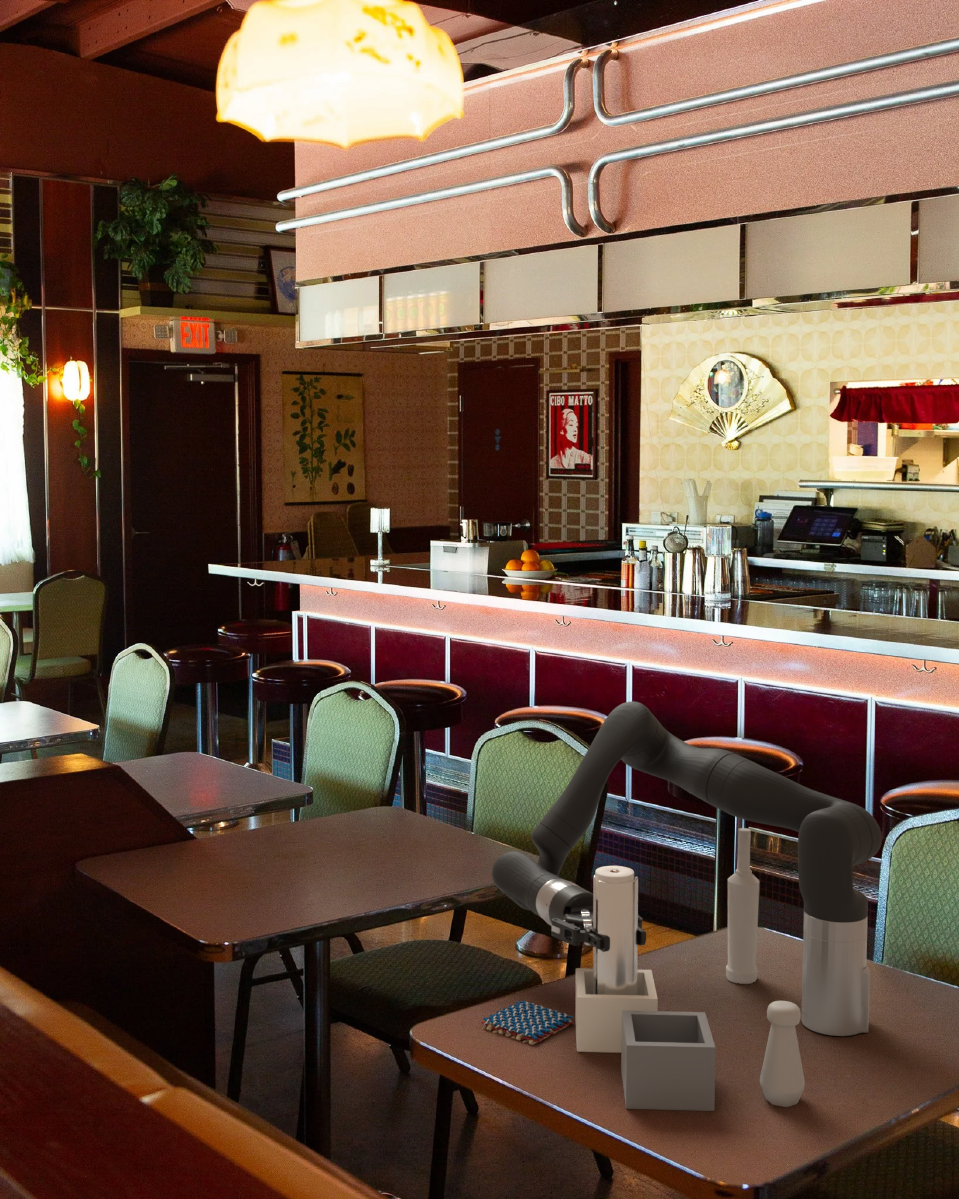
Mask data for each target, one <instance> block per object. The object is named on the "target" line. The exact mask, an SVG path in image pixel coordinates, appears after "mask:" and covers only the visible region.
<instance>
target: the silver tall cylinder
mask: <svg viewBox="0 0 959 1199" xmlns="http://www.w3.org/2000/svg"><path fill="white" fill-rule="evenodd" d="M592 878H593V880H592V881H593V890H592V891H593V892H592V894H593V930H598V934H601V935H604V936H608V938H609V950H608V951H606V952H603V951H601V950H599V949H597V948H595V947H594V946H592V951H593V952H592V958H593V959H592V969H593V994H595V995H637V970H638V952H639V951H638V946H639V945H638V915H639V913H638V912H639V911H638V910H639V909H638V908H639V877H638V876H635V871H634V870H633V869H632V868H630V867H626V866H622V865H621V866H620V865H606V866H604V865H603V866H600V867H598V868H596V869H595V874H594V875H593V876H592Z"/></svg>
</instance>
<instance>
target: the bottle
mask: <svg viewBox="0 0 959 1199" xmlns="http://www.w3.org/2000/svg"><path fill="white" fill-rule="evenodd" d="M751 832H752V831H751V829H750V828H746V827H741V828H738V829H737V841H738V843H737V868H736V869H735V872H734V873H733V874H732V875H730V876H729V877H728V878H727V965H726V966H725V975H726V979H727V980H728V981H729V982H732V983H735V984H738V983H739V984H740V985H749V984H753V982H754V983H755V982H756V981H757V979H758V967H757V949H758V948H757V946H758V945H757V944H758V924H759V923H758V922H759V904H760V903H759V901H760V900H759V897H760V879H758V878H757V877H756V876H755V875H754V874H753V873H752V872H753V871H752V870H751V842H752V841H751V837H752V835H751Z"/></svg>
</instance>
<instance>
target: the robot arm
mask: <svg viewBox="0 0 959 1199" xmlns="http://www.w3.org/2000/svg"><path fill="white" fill-rule="evenodd" d="M620 761H622V762H623V763H624V764H626V766H628V767H630V768H633V769H634V770H637V771H640V772H642V773H645V774H648V775H650V776H654V777H656V778H659V779H663V780H665V781H668V782H670V783H672V784H674V785H676V786H678V787H679V788H681V789H682V790H684V791H686V792H687V793H689V794H691V795H692V796H695V797H697V799H700V800H702V801H703V802H705V803H707V804H709V805H710V806H711V807H714V808H716V809H718V810H720V811H722V812H724V813H726V814H728V815H731V816H733V817H734V818H737V819H738V818H739V819H742V820H744V821H749V822H753V823H758V824H763V825H768V826H774V827H780V828H784V829H789V830H791V831H793V832H798V837H797V863H798V864H797V867H798V868H797V870H798V887H799V891H800V894H801V895H800V896H801V897H802V899H803V935H802V936H803V937H802V938H803V939H802V940H803V942H802V972H801V974H802V975H801V977H802V978H801V980H802V981H801V1005H800V1006H801V1008H800V1012H801V1018H800V1021H801V1024H802V1025H803V1026H804V1027H806V1028H807V1029H808V1030H810V1031H812V1032H815V1033H818V1034H822V1035H827V1036H832V1037H833V1036H836V1037H838V1036H839V1037H846V1036H847V1037H849V1036H854V1035H857V1034H862V1033H869V1026H870V1025H869V1024H870V1023H869V1020H870V991H871V990H870V987H871V985H870V983H871V982H870V981H871V969H870V968H869V967H868V965H867V949H868V948H867V947H868V946H867V944H868V942H867V941H868V914H869V913H868V912H869V901H868V898H867V896H866V895H865V894H864V893H863V892H861V891H859V890H857V889H854V888H855V887H854V878H853V877H854V876H853V875H854V874H853V872H854V871H853V868H854V867H856V866H859V865H860V864H864V863H866V862H867V861H869V860H871V859H872V858H873V857H874V856H876V854H878V853H879V851H880V848H881V846H882V842H883V837H882V836H883V835H882V831H881V828H880V825H879V824H878V822H877V820H876V819H875V818H874V816H873V815H872V814H871V812H869V811H868V810H866V808H864V807H862V806H860V805H859V804H856V803H853V802H850V801H847V800H843V799H841V798H838V797H834V796H831V795H828V794H826V793H823V792H819V791H817V790H814V789H811V788H809V787H806V786H803V785H802V784H800V783H797V782H796V781H794V780H791V779H789V778H787V777H785V776H784V775H782V774H779V773H777V772H775V771H773V770H770V769H768V768H767V767H764V766H762V765H760V764H759V763H756V762H754V761H752V760H750V759H748V758H746V757H743V756H742V755H739V754H737V753H734V752H732V751H729V750H725V749H724V748H700V747H696V746H694V745H691V744H689V743H687V742H685V741H684V740H681V739H680V738H678V737H677V736H675V735H673V734H672V733H671V732H669V731H668V730H667V729H666V728H665V727H664V726H663V725H662V724H661V722H660V721H659V720H658V719H657V718H656V717H655V715H654V714H653V713H652V712H651V710H650V709H649V708H648V707H647V706H646V705H644V704H643V703H641V702H638V701H634V700H631V701H626V702H623V703H621V704H619V705H618V706H616V707H615V708H614V709H612V711H611V712H610V713H608V715H607V716H606V718H605V719H604V721H603V722H602V724H601V726H600V728H599V730H598V731H597V733H596V735H595V737H594V739H593V741H592V742H591V744H590V745H589V748H588V749H587V750H586V752H585V754H584V756H583V758H582V760H581V762H580V763H579V765H578V767H577V769H576V770H575V773H574V774H573V776H572V777H571V779H570V781H569V782H568V784H567V786H566V787H565V789H564V790H563V792H561V794H560V796H559V797H558V799H557V800H556V801H555V803H553V805H552V806H551V808H549V810H548V812H547V813H546V814H545V815H544V816H543V818H542V819H541V820H540V822H539V823H538V824H537V825H536V827H535V828H534V829H533V831H532V833H531V836H530V839H531V841H532V843H533V844H534V846H535V847H536V849H537V850H538V853H539V855H538V860H537V862H536V861H534V860H533V859H532V858H531V857H529V856H528V855H526V854H525V853H523V852H521V851H518V850H517V851H516V850H511V851H507V852H505V853H503V854H501V855H499V857H497V858H496V860H494V862H493V865H492V867H491V868H492V869H491V880H492V882H493V884H494V885H495V887H496V888H497V889H499V890H500V891H501V892H502V893H504V895H506V896H507V898H509V899H511V900H512V901H513V902H514V903H515V904H517V905H518V906H519V907H520V908H521V909H523V910H527V911H531V912H532V913H533V914H534V915H536V916H538V917H540V918H541V919H543V920H544V921H545V922H546V923H547V925H549V926H550V927H551V937H554V938H556V939H557V940H560V941H562V942H565V943H567V944H569V945H572V946H574V947H578V946H579V947H580V946H581V943H584V945H585V946H592V947H593V946H594V947H595V948H597V949H599V950H601V951H603V952H606V951H608V950H609V938H608V936H604V935H601V934H598V930H593V892H590V891H589V890H588V889H585V888H583V887H581V886H579V885H578V884H576V883H574V882H572V881H570V880H566V879H564V878H563V877H559V875H560V873H561V870H562V868H563V866H564V863H565V861H566V858H567V857H568V856H569V854H570V852H571V851H572V849H574V847H575V846H576V845H577V843H578V842H579V841H580V840H581V838H582V837H583V836H584V835H585V833H586V832H587V830H588V828H590V826H591V823H592V821H593V820H594V817H595V815H596V813H597V810H598V806H599V802H600V800H601V796H602V793H603V791H604V789H605V784H606V782H607V780H608V778H609V776H610V775H611V774H612V771H613V770H614V768H615V767H616V765H617V764H618V763H619V762H620ZM646 942H647V930H645V929H643V917H641V916H640V915H639V914H638V946H645V945H646Z"/></svg>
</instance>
